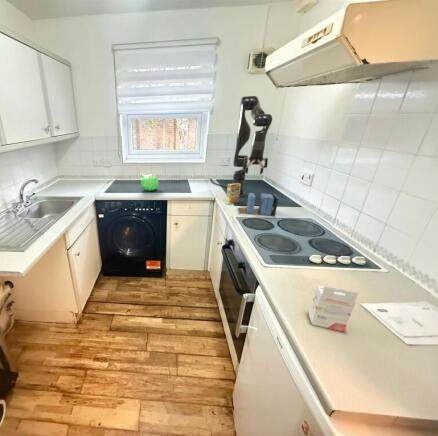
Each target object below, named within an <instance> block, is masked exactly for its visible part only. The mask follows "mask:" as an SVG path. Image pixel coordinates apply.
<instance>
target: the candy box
mask: <svg viewBox="0 0 438 436" xmlns="http://www.w3.org/2000/svg"><path fill="white" fill-rule="evenodd" d="M226 187H227V188H226V197H225V204H227V205H230V204H238V203H239V200H240V197H239V194H240V187H241V184H239V183H233V184H232V183H227V186H226Z"/></svg>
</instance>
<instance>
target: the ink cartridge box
mask: <svg viewBox="0 0 438 436" xmlns="http://www.w3.org/2000/svg"><path fill="white" fill-rule="evenodd" d="M358 294H359V293H358V292H357V291H353V290H348V289H342V288H337V287H332V286H328V285H327V286H322V285H317V286H316V289H315V292H314V295H313V298H312V302H311V305H310V308H309V311H308V316H309V321H310V322H311V324H312V325H313V326H316V327H317V326H318V327H321V328H326V329H330V330H335V331H339V332H345V331H346V330H345V329H346V327H347V325H348V322H349V320H350V318H351V315H352V314H353V310H354V308H355V305H356V300H357V297H358Z"/></svg>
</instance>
